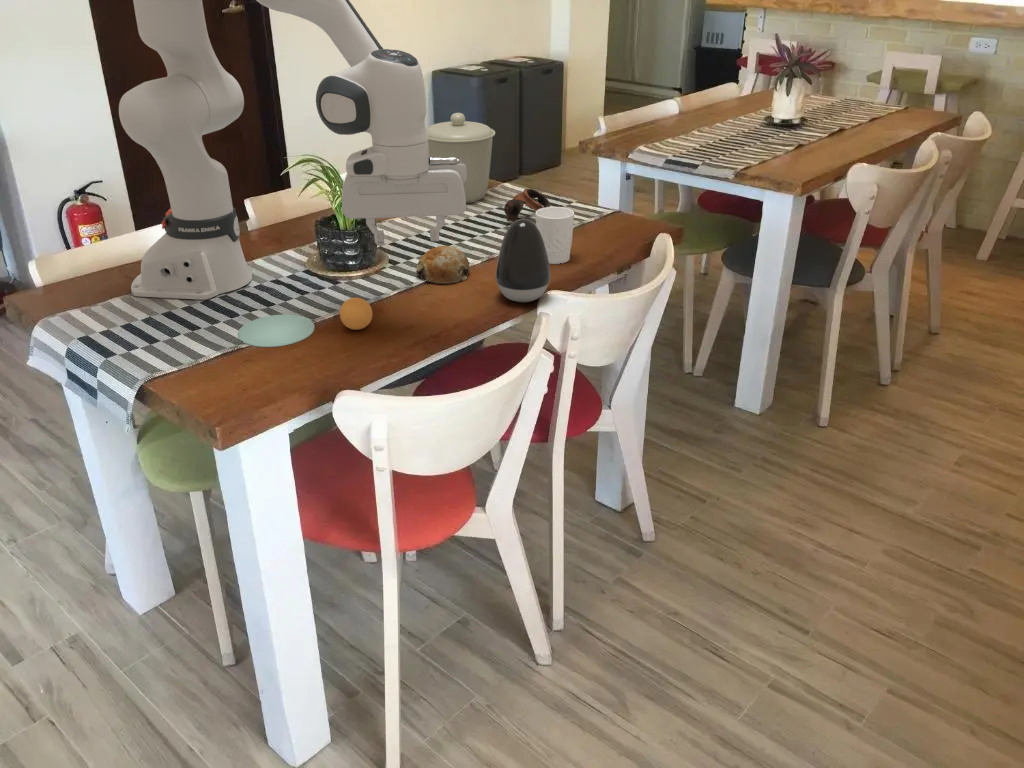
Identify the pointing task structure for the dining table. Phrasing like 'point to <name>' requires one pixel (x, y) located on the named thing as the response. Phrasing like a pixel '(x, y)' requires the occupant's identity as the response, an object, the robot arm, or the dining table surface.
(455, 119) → the canister
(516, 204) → the brown curved piece
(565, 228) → the white cup
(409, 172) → the robot arm
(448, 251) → the bread roll
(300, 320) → the teal disc
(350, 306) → the ball
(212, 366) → the dining table surface
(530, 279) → the dark grey egg shape
